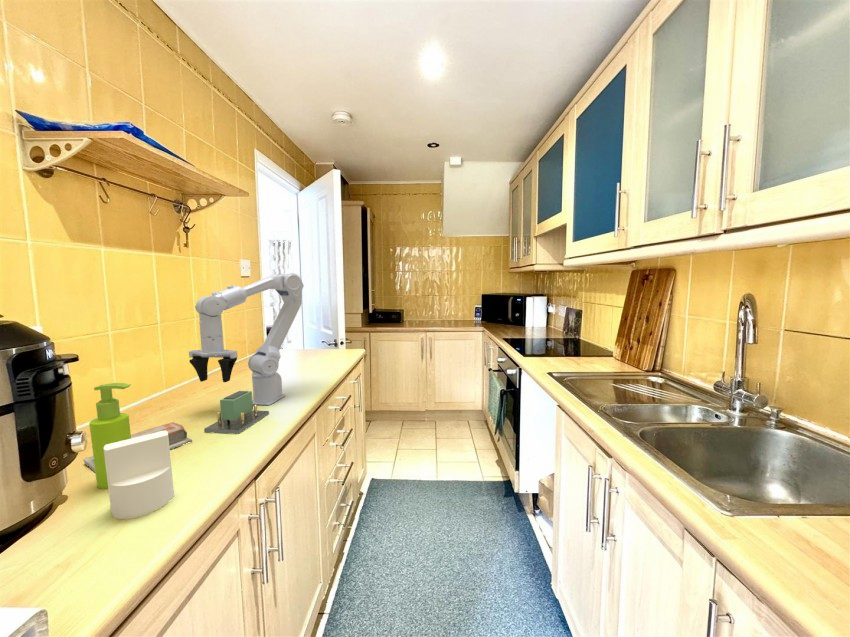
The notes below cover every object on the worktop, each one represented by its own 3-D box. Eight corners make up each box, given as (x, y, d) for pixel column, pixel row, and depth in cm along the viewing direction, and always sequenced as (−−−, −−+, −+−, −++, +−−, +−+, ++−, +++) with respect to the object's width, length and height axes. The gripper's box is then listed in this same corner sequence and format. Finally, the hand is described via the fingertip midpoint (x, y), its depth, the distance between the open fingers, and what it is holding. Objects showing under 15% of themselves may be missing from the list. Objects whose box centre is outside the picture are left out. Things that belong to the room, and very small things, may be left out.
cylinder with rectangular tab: (170, 483, 72) (164, 425, 70) (178, 503, 65) (171, 439, 64) (110, 502, 65) (103, 439, 64) (112, 526, 59) (104, 457, 58)
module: (240, 409, 105) (239, 389, 105) (253, 409, 105) (251, 390, 104) (221, 419, 98) (219, 399, 97) (234, 420, 97) (233, 399, 96)
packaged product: (171, 418, 94) (191, 425, 89) (173, 435, 95) (192, 444, 90) (80, 445, 79) (97, 456, 74) (83, 466, 80) (100, 478, 75)
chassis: (238, 412, 109) (237, 399, 109) (269, 414, 108) (268, 400, 107) (204, 432, 95) (203, 417, 95) (238, 434, 94) (237, 418, 94)
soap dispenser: (129, 486, 71) (117, 387, 68) (89, 490, 69) (76, 390, 67) (147, 470, 76) (137, 379, 74) (110, 474, 75) (99, 381, 73)
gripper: (179, 338, 104) (182, 384, 105) (224, 338, 101) (227, 385, 103) (197, 334, 111) (201, 377, 112) (240, 335, 108) (243, 378, 110)
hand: (215, 381), depth 108 cm, fingers open, 7 cm apart
